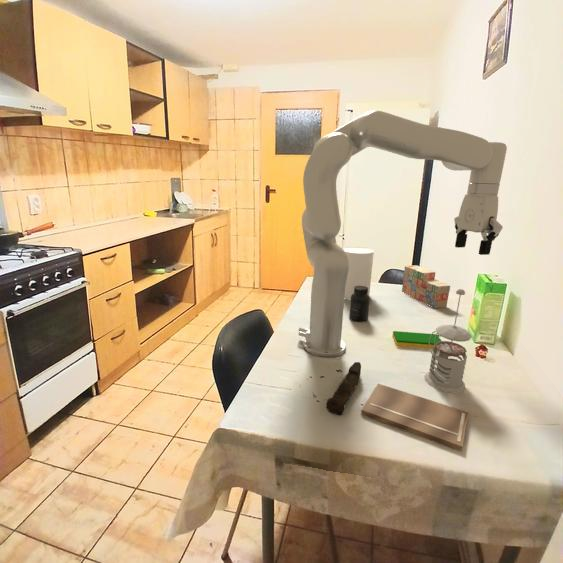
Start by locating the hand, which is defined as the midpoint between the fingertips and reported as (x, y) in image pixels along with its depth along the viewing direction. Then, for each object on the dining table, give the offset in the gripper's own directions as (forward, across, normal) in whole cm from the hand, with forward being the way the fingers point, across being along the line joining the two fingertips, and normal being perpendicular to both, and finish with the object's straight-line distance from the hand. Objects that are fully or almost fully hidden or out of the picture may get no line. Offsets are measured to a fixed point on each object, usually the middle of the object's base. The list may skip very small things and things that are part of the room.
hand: (471, 250), depth 103 cm
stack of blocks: (+30, -38, +14) cm, 51 cm away
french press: (+30, +18, -17) cm, 39 cm away
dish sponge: (+31, -2, -12) cm, 33 cm away
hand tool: (+30, +18, -44) cm, 57 cm away
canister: (+30, -48, -13) cm, 58 cm away
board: (+30, +29, -33) cm, 53 cm away
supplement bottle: (+30, -23, -22) cm, 44 cm away
